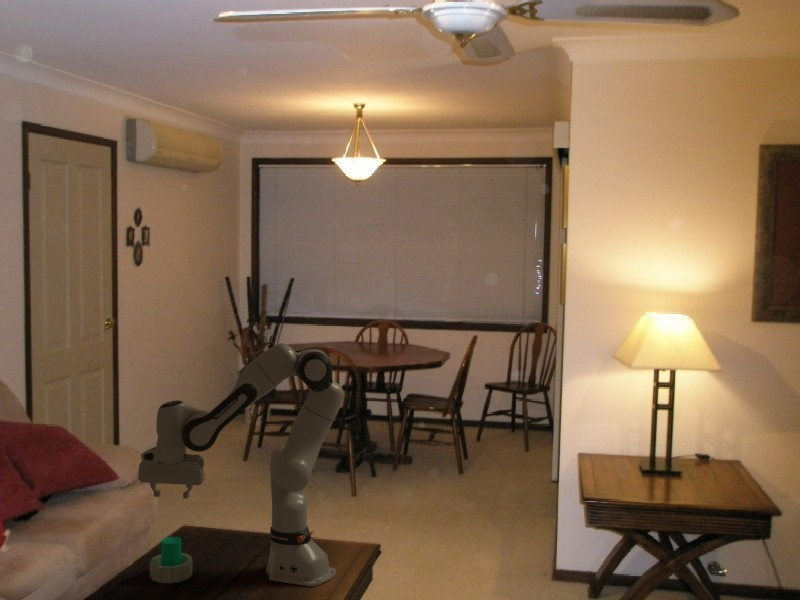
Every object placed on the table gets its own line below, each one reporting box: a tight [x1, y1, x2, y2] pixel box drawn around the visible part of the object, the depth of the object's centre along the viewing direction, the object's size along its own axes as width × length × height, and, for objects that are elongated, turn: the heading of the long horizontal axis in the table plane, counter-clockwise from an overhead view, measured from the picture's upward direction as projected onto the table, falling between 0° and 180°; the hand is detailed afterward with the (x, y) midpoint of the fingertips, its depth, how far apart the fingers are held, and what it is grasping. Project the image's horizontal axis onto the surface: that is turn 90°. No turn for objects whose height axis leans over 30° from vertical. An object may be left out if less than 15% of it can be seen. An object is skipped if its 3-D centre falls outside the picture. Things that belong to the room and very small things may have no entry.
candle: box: [160, 536, 182, 566], centre depth 265 cm, size 6×6×12 cm
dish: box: [149, 552, 193, 584], centre depth 265 cm, size 12×12×5 cm
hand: (171, 497), depth 263 cm, fingers open, 8 cm apart
